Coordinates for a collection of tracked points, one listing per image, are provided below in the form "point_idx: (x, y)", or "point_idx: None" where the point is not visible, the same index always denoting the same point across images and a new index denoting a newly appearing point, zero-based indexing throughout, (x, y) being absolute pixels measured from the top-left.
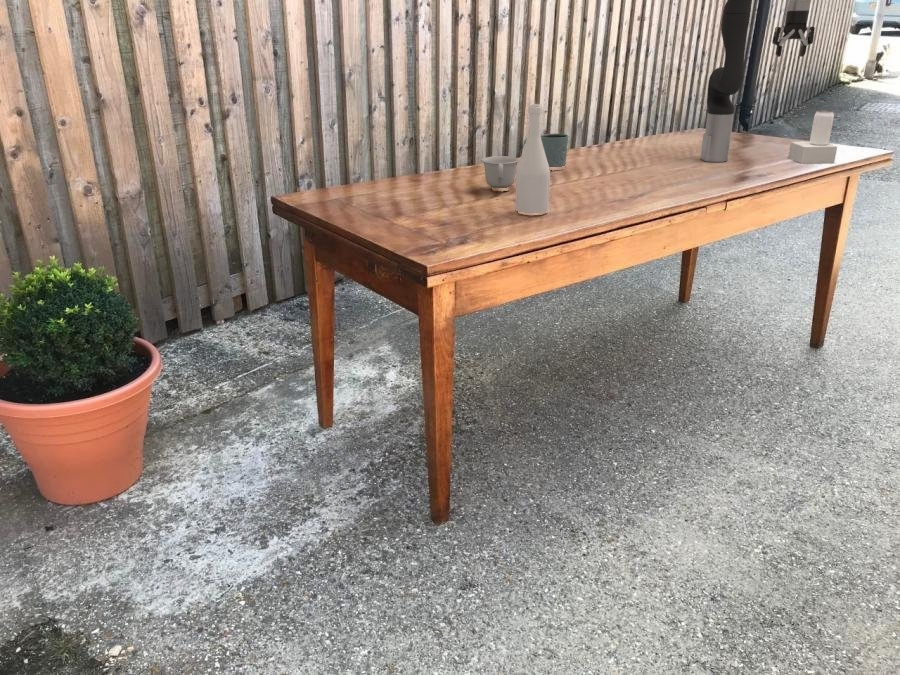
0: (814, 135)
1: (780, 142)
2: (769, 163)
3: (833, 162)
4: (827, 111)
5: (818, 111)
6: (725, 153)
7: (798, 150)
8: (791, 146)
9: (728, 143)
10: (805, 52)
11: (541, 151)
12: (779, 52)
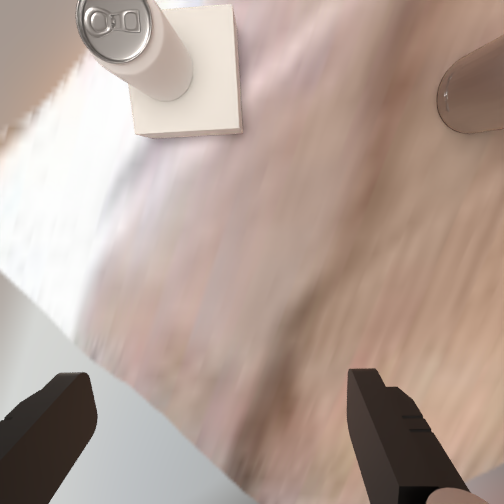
0: (181, 41)
1: (188, 368)
2: (329, 33)
3: None
4: (102, 28)
5: (149, 7)
6: (474, 51)
7: (236, 56)
8: (239, 117)
9: (487, 47)
10: (11, 411)
11: None
12: (391, 401)
